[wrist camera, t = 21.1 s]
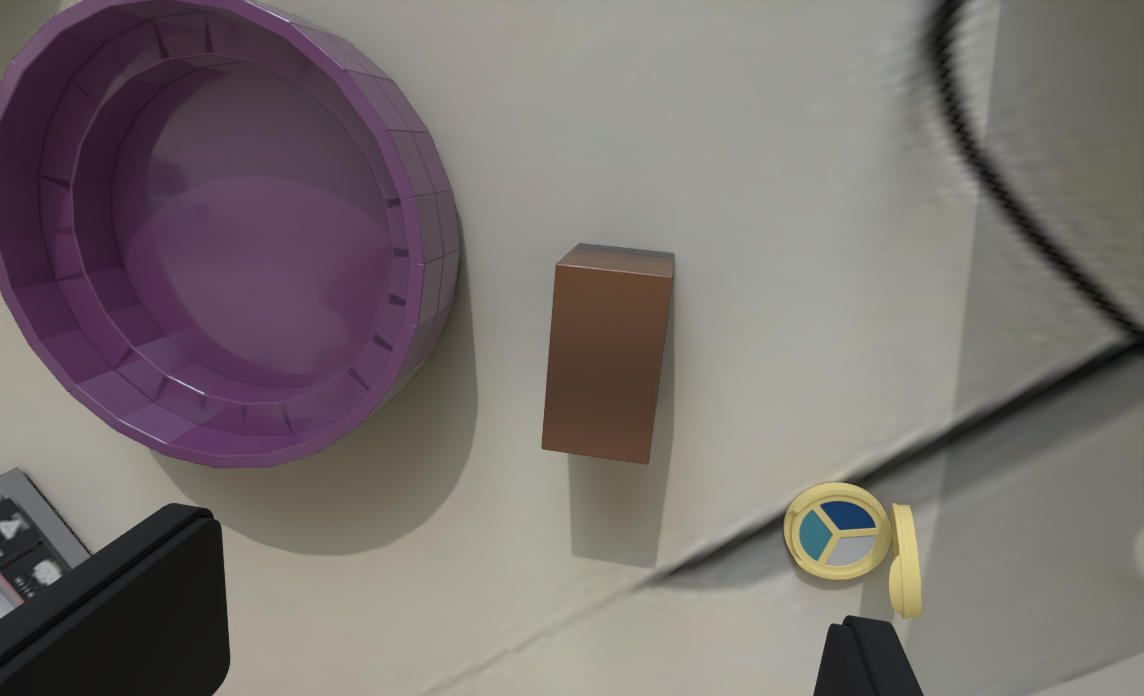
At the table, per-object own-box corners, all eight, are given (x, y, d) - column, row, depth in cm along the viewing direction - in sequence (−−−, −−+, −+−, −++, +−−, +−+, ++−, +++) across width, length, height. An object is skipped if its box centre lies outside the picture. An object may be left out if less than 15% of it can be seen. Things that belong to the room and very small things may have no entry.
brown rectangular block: (578, 242, 29) (555, 263, 24) (674, 253, 29) (672, 276, 23) (565, 399, 31) (541, 449, 26) (654, 411, 31) (648, 465, 25)
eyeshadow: (778, 486, 31) (796, 547, 26) (899, 476, 30) (940, 538, 25) (788, 574, 32) (806, 648, 27) (905, 567, 31) (944, 642, 26)
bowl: (281, -91, 27) (196, -142, 23) (546, 290, 30) (520, 316, 25) (10, 180, 32) (-106, 185, 28) (257, 486, 35) (189, 540, 30)
